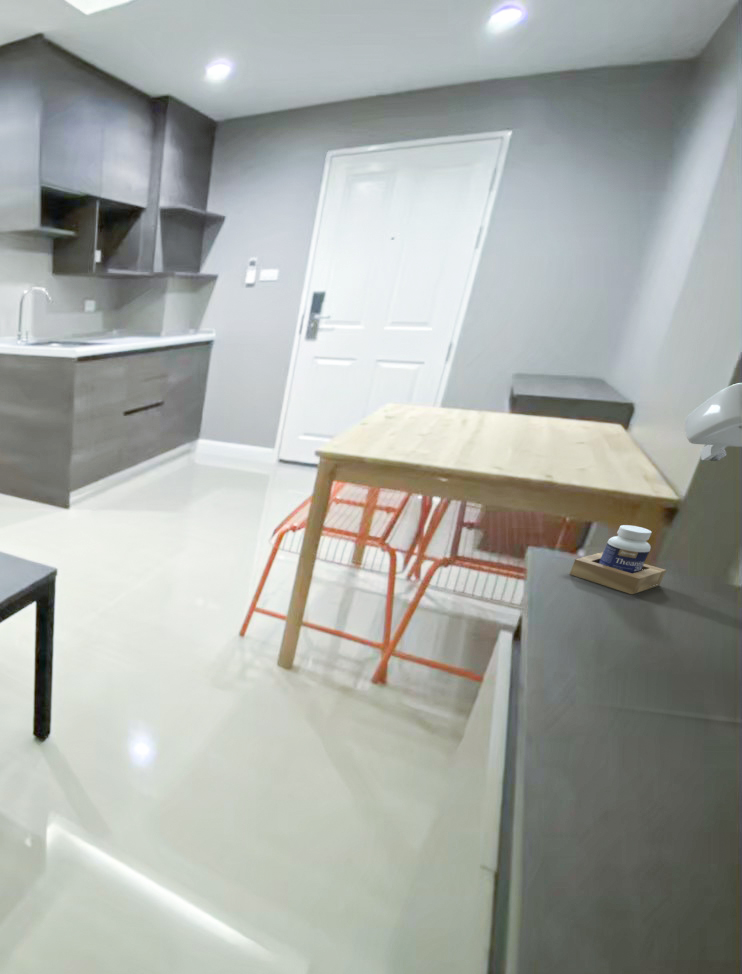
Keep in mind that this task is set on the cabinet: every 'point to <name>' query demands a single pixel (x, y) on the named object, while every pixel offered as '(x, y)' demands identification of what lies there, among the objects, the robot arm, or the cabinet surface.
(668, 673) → the cabinet surface
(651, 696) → the cabinet surface
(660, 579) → the socket pad
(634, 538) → the pill bottle
